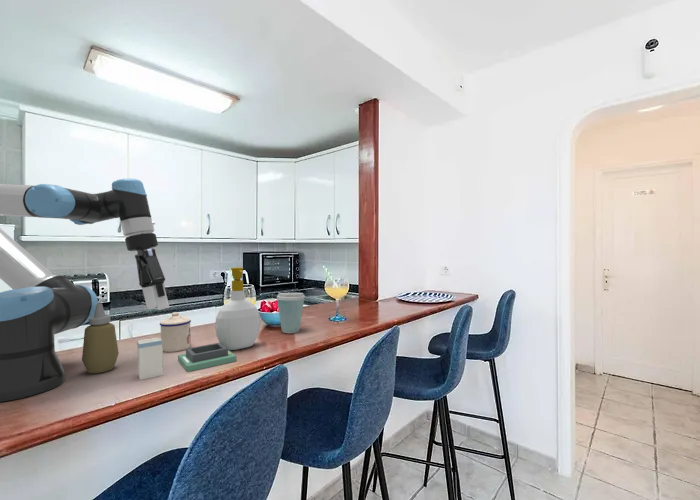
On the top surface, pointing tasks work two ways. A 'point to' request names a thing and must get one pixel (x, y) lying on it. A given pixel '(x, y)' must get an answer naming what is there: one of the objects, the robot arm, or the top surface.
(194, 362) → the header board
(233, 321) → the white round bottle
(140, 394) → the top surface
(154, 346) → the plug
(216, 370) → the top surface
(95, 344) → the squeeze bottle
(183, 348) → the teacup with lid
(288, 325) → the disposable coffee cup
